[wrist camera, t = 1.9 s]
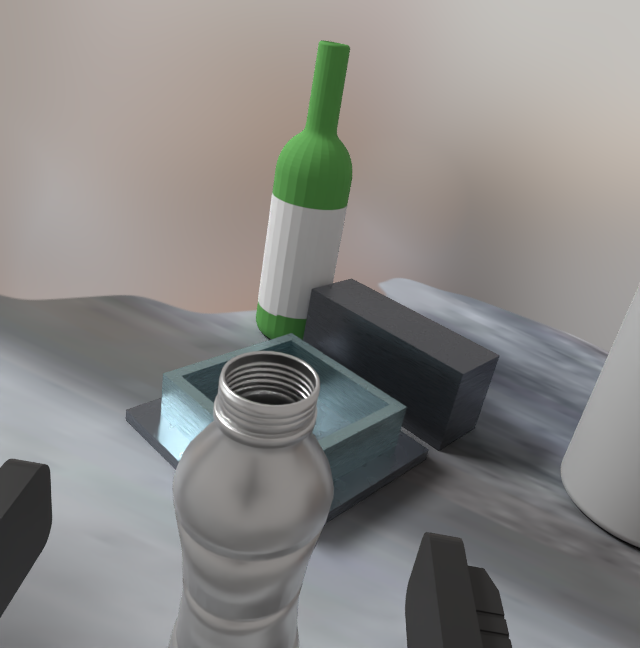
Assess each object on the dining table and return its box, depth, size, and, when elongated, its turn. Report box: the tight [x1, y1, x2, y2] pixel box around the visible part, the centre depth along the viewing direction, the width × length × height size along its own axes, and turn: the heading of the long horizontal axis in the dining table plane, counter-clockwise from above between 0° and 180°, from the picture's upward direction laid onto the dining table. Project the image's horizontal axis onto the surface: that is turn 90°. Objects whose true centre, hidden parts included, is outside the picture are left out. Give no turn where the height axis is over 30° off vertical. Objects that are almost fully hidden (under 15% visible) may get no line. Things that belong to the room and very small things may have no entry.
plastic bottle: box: [168, 351, 334, 648], centre depth 27 cm, size 6×7×20 cm
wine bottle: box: [256, 41, 352, 340], centre depth 62 cm, size 8×8×30 cm
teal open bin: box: [126, 279, 499, 523], centre depth 52 cm, size 26×18×8 cm
